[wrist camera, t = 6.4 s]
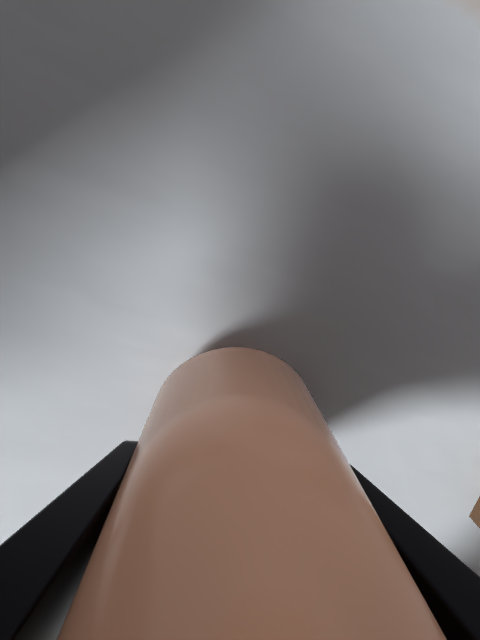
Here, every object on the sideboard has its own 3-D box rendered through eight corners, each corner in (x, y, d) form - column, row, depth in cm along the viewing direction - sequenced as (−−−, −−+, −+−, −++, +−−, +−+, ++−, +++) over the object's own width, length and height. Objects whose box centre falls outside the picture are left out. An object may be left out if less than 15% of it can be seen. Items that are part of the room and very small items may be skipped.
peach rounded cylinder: (294, 485, 10) (446, 1010, 3) (149, 477, 9) (-35, 1082, 3) (328, 356, 8) (745, 830, 2) (157, 337, 8) (-214, 916, 1)
